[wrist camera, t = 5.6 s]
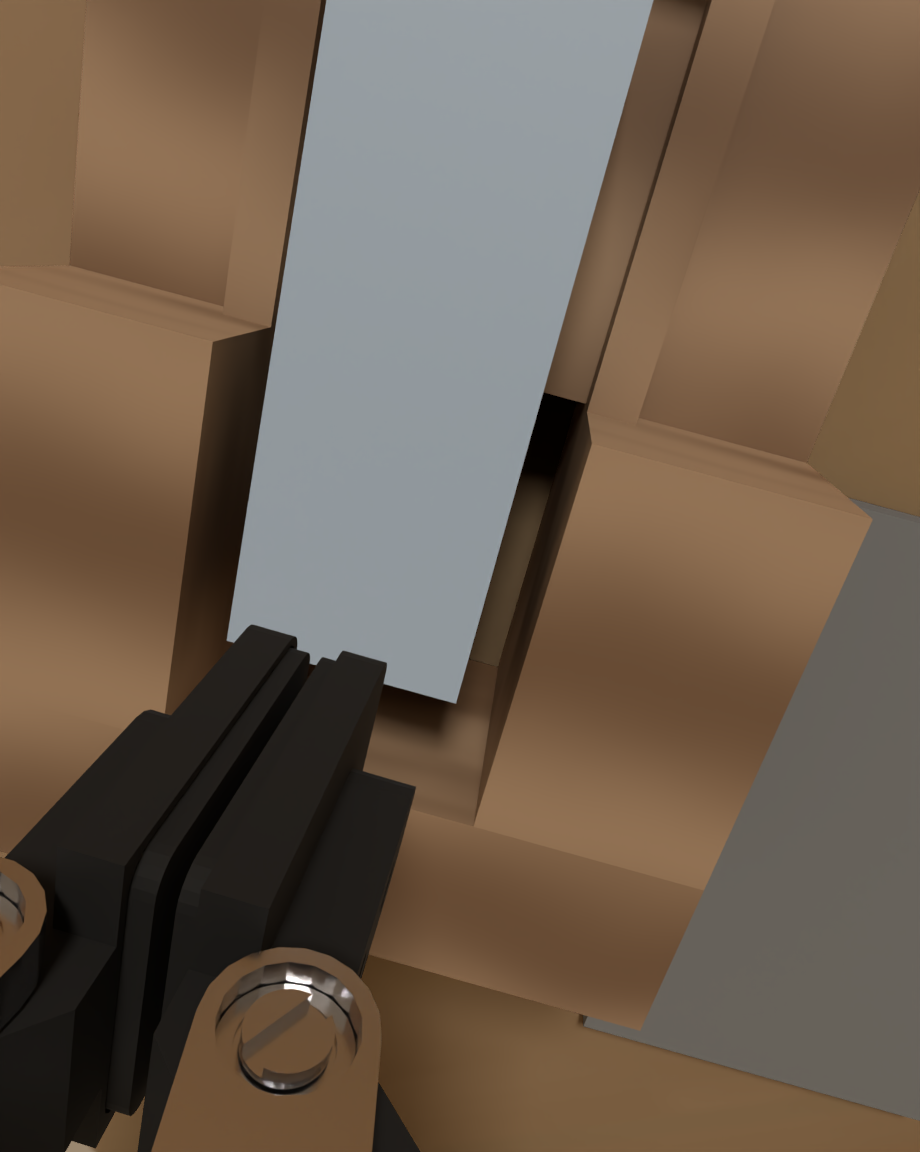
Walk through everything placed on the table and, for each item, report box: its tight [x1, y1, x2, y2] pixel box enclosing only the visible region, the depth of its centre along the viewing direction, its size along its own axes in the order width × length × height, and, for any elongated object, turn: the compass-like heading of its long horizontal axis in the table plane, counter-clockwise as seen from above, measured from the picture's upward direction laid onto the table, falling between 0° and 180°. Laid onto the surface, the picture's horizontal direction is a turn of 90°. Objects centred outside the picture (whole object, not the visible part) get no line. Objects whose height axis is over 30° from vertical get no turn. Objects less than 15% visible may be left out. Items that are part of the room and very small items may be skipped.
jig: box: [0, 0, 920, 1031], centre depth 17 cm, size 24×16×7 cm, turn 166°
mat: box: [583, 498, 920, 1121], centre depth 24 cm, size 11×18×1 cm, turn 166°
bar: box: [227, 0, 653, 704], centre depth 16 cm, size 12×4×4 cm, turn 166°
